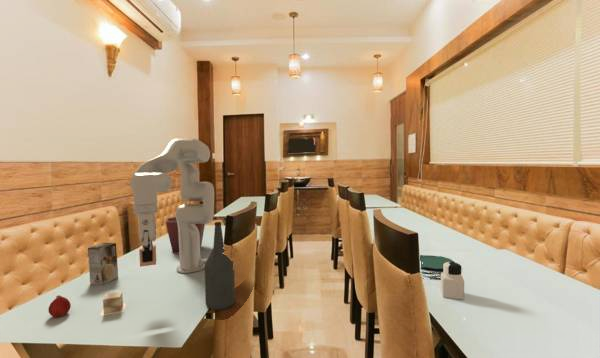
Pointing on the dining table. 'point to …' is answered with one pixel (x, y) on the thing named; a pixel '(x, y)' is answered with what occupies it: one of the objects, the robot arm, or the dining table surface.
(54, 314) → the onion
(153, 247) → the terracotta block
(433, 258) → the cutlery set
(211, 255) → the bottle
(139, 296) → the dining table surface
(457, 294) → the medicine bottle
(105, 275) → the coffee box
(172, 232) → the bucket
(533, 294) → the dining table surface
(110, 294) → the pale oak block
